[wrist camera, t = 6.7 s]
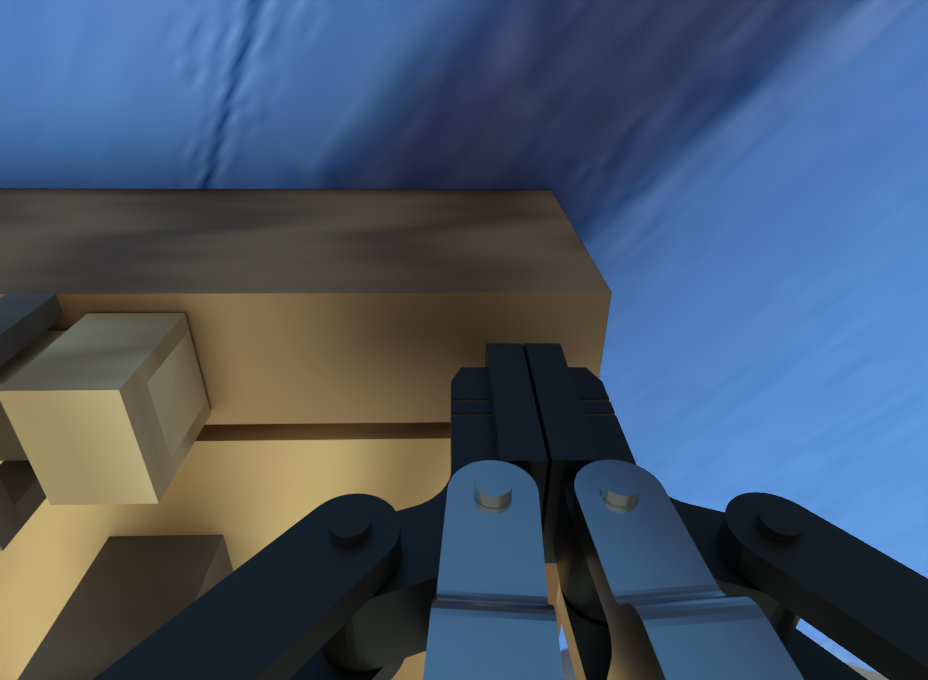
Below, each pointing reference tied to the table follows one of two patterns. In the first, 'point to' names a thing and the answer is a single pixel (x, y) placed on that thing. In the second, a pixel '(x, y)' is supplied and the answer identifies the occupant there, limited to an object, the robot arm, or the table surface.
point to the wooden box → (303, 294)
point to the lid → (192, 536)
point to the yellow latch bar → (104, 407)
